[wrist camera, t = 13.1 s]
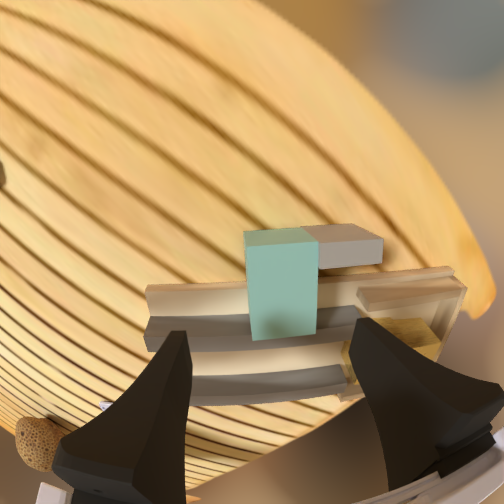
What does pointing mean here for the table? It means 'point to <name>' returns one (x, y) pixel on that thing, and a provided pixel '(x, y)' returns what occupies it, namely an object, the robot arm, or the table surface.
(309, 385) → the slot board
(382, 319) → the golden brown cube
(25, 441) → the natural sponge
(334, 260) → the two-tone l-shaped block
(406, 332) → the yellow cube
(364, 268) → the table surface
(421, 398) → the robot arm
